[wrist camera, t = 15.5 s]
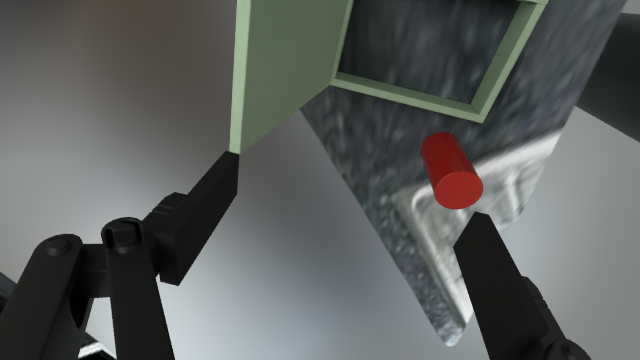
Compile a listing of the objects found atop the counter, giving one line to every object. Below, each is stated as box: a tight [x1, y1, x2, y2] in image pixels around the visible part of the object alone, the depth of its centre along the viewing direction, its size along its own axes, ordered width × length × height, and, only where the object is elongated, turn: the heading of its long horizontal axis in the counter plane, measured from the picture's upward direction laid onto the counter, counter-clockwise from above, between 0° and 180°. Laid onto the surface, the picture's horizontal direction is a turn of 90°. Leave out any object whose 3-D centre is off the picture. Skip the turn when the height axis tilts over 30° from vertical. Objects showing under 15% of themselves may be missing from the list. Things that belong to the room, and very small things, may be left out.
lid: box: [230, 0, 348, 155], centre depth 25 cm, size 21×14×1 cm
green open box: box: [329, 0, 549, 123], centre depth 36 cm, size 20×14×5 cm
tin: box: [421, 132, 483, 209], centre depth 40 cm, size 5×5×12 cm
